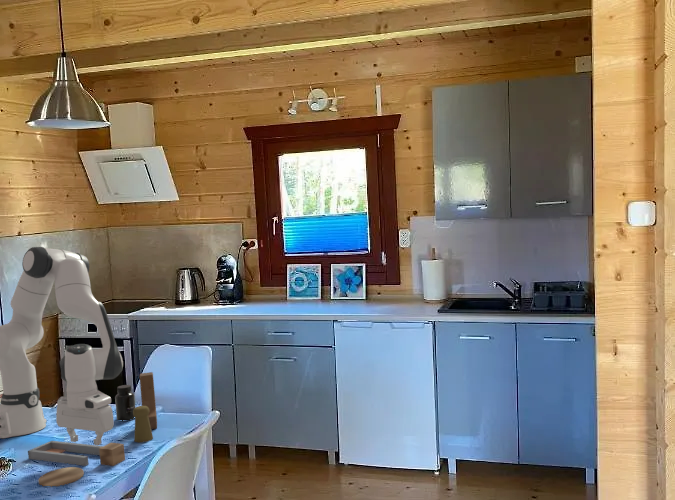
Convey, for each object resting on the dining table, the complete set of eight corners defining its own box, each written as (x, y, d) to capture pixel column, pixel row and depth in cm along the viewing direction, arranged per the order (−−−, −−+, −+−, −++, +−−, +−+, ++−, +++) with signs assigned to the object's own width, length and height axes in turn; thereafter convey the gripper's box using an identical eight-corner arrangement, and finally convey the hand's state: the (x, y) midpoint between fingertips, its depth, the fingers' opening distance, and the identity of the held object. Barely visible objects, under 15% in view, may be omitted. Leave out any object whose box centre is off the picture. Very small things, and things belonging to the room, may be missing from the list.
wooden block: (157, 428, 234) (152, 377, 233) (143, 430, 233) (139, 379, 232) (157, 421, 243) (152, 371, 242) (144, 423, 242) (139, 373, 240)
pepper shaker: (142, 443, 220) (140, 410, 219) (130, 441, 223) (127, 408, 222) (157, 437, 225) (154, 404, 224) (144, 435, 228) (141, 403, 228)
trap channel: (28, 458, 213) (27, 450, 213) (52, 448, 222) (51, 440, 221) (85, 465, 203) (84, 457, 203) (108, 454, 212) (107, 446, 212)
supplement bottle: (133, 421, 245) (130, 388, 244) (114, 422, 245) (111, 389, 244) (138, 415, 252) (136, 383, 251) (120, 416, 252) (117, 384, 251)
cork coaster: (29, 484, 192) (28, 481, 192) (62, 468, 203) (61, 465, 203) (60, 488, 187) (60, 486, 187) (92, 472, 198) (92, 469, 198)
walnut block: (100, 464, 204) (99, 448, 204) (112, 458, 208) (110, 442, 208) (113, 466, 202) (112, 449, 201) (125, 460, 206) (123, 443, 206)
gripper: (49, 398, 209) (53, 442, 210) (100, 404, 200) (103, 450, 201) (65, 393, 214) (68, 436, 215) (115, 398, 206) (118, 442, 207)
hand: (86, 442), depth 208 cm, fingers open, 8 cm apart
